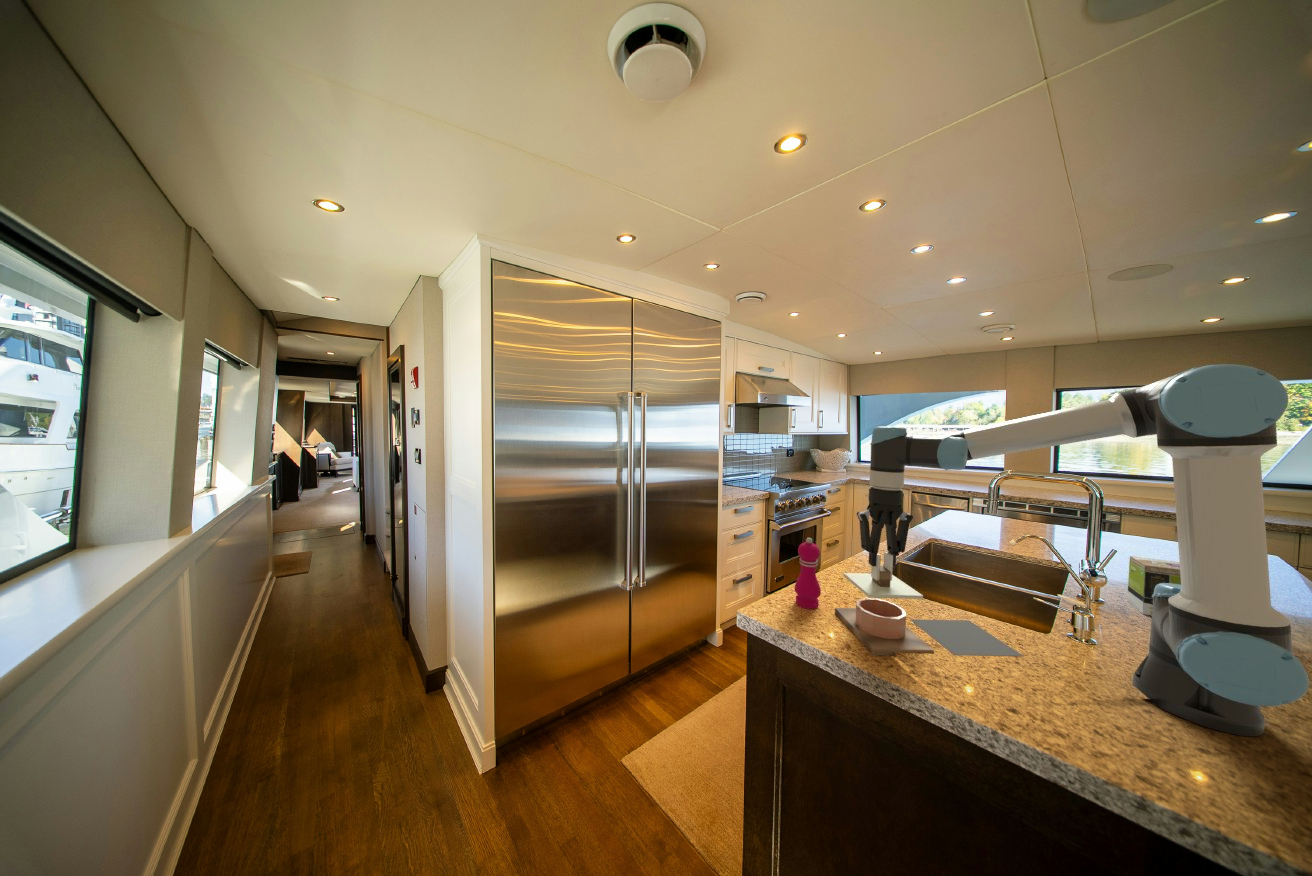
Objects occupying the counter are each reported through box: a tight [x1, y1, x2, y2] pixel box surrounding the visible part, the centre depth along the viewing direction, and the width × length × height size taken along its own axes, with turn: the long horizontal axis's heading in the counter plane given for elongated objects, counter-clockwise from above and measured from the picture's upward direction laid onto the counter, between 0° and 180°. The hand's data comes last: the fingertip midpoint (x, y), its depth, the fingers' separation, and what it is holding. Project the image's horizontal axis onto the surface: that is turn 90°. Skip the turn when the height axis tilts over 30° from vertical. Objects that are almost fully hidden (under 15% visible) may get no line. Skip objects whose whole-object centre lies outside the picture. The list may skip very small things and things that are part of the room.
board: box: [834, 607, 935, 657], centre depth 102 cm, size 20×14×2 cm
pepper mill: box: [794, 537, 822, 610], centre depth 116 cm, size 7×7×20 cm
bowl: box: [855, 597, 907, 639], centre depth 102 cm, size 11×11×5 cm
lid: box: [843, 564, 924, 600], centre depth 101 cm, size 13×13×5 cm
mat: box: [909, 618, 1024, 657], centre depth 99 cm, size 16×16×1 cm
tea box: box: [1127, 556, 1181, 617], centre depth 113 cm, size 15×10×15 cm, turn 58°
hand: (881, 578), depth 101 cm, fingers closed on lid, 2 cm apart
